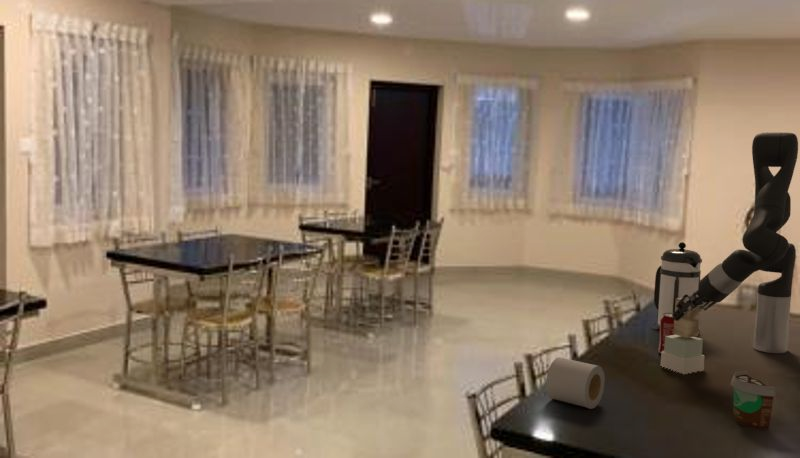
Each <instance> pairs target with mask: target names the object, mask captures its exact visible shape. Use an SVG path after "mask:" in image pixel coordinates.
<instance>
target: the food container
mask: <svg viewBox="0 0 800 458" xmlns="http://www.w3.org/2000/svg"><path fill="white" fill-rule="evenodd" d="M730 386H731V387H732V388H733V420H734V421H735V422H736V423H738V424H740V425H741V426H745V427H747V428H753V429H757V430H769V429H770V422H771V418H772V417H771V416H772V410H773V403H774V397H776V386H770V385H769V386H768V385H766V384H764V383H763V382H762V381H761V380H759V379H755V378H753V377H751V376H750V375H749V371H747V370H745V371H744V370H743V371H737V372H735V373H734V374H733V376H732V379H731V381H730Z"/></svg>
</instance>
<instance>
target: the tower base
mask: <svg viewBox="0 0 800 458" xmlns="http://www.w3.org/2000/svg"><path fill="white" fill-rule="evenodd" d="M660 354H661V355H660V366H662V367H661V368H663V367H665V368H664V369H666V368H668V369H667V370H669V369H671V370H670V371H672V370H673V371H672V372H675V371H676V372H675V373H678V372H679V373H678V374H681V373H682V375H688V373H689V374H692V372H694V373H698V372H697V371H699V372H704V369H705V355H704V354H702V355H701V356H695V357H690V358H682V357H679V356H675V355H672V354H669V353H665V352H664V351H662V352H661V353H660ZM660 366H659V367H660Z"/></svg>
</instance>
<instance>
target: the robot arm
mask: <svg viewBox="0 0 800 458" xmlns="http://www.w3.org/2000/svg"><path fill="white" fill-rule="evenodd" d="M797 136H798V135H797V134H796V133H792V132H760V133H756V135H755V136H754V137H753V139H752V144H751V154H752V164H753V171H754V172H753V174H754V175H753V176H754V190H755V191H754V192H755V193H754V211H753V216H752V218H751V220H750V222H749V224H748V226H747V228H746V230H745V231H744V233H743V236H742V238H741V239H742V245H743V247H744V248H745V249H746V250H745V249H736V250H734V251H732V253H730V254H729V255H728V256H727V257H726V258H725V259H724V260H723V261H721V262H720V263H719V264H717V265H716V266H715V267H713V268H712V269H711V270H710V271H709V272H708V273H707V274H706V275H705V276H703V277H702V278H700V282H699V290H697V291H695V292H694V293H693V294H692V295H691V296H690V297H689V296H688V295H684V296H683V298H682V299H681V300H680V301H679V303H678V304H677V305H676V306H677V308H678V310H677V311H675V312H674V313H673V314H672V316H673V318H674V319H675V321H678V320H679V319H681V318H682V317H683V316H684V315H685V314H687V313H688V312H689V311H691V310H695V309H697V308H698V307H700V308H699V313H701V312H702V311H707V310H708V309H710V308H711V307H713V306H715V304H717V303H721V302H723V300H725V299H726V298H727V297H729V295H731V294H732V293H733V292H734V291H735V290H736V289H737V288H738V287H739V286H740V285H741V284H742V283H743V282H744V281H745V280H747V278H749V277H750V276H751V275H753V274H754V273H755V272H759V271H762V272H768V273H777V274H781V276H780V277H778V278H776V279H774V280H770V281H765V282H761V283H760V284H758V286H757V298H756V310H755V322H754V323H755V324H754V335H753V349H754V350H756V351H759V352H764V353H770V354H785V353H787V351H788V350H789V340H790V328H791V319H790V316H791V315H790V314H791V313H790V311H791V304H792V303H791V301H792V300H791V299H792V292H793V291H792V288H793V287H792V286H793V278H794V277H793V276H794V270H795V265H796V264H795V263H796V256H797V250H796V245H794V244H793V243H791V242H790V243H789V241H788V240H787V238H786V237H785V236H784V235H781V234H780V233H777V232H779V230H781V229H782V228H783V227H784V226H785V225H786V223H788V221H789V220H790V217H791V210H792V209H791V207H792V205H791V204H792V203H791V201H792V200H791V196H790V192H789V189H790V186H791V182H792V179H793V175H794V171H795V168H796V164H797V160H798V156H799V155H798V153H799V140H798V137H797ZM770 167H771V168H780V169H779V170H778V172H776V174H775V175H774V174H773V173H772V171H771V170H770ZM692 303H693V305H694V307H693V305H692ZM688 307H689V308H688ZM687 308H688V309H687Z"/></svg>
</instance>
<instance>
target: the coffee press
mask: <svg viewBox="0 0 800 458" xmlns="http://www.w3.org/2000/svg"><path fill="white" fill-rule="evenodd" d="M686 246H687V245H686V243H685V242H683V241H681V242H679V243H678V248H673V249H672V248H671V249H667V250H665V251H664V252H663V254H662V255H661V256H660V260H661V265H659V267H658V268H657V269H656V272H655V277H654V278H655V279H654V291H653V292H654V294H653V296H654V297H653V301H654V306H655V308H656V309H657V317H656V322H655V323H654V324H653V326H652V328H653V329H654V330H657V329H660V319H661V318H662V316H663V313H674V312H675V302H676V298H683V296H684V295H688V296H689V297H690V296H691V295H692V294H693V293H694V292H695V291H697V290H699V282H700V280H701V272H702V271H701V264H702V263H703V259H702V257H701V255H700V254H699V253H698V252H697V251H694V250H690V249H685V248H686ZM656 324H658V327H655V325H656ZM698 334H699V335H700V334H701V330H700V329H699V328H698Z"/></svg>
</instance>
